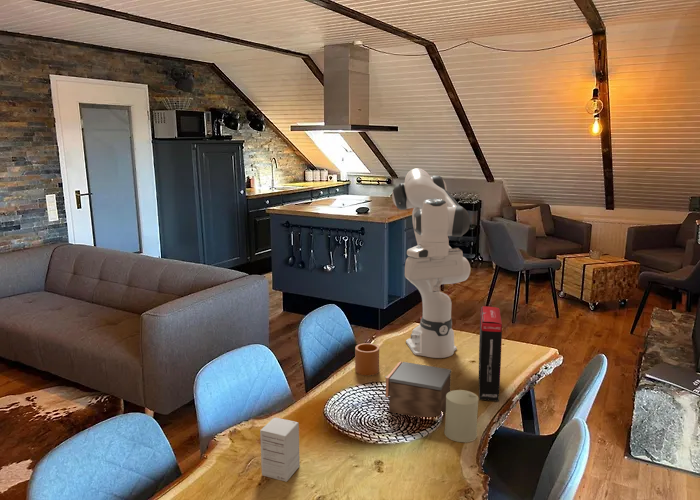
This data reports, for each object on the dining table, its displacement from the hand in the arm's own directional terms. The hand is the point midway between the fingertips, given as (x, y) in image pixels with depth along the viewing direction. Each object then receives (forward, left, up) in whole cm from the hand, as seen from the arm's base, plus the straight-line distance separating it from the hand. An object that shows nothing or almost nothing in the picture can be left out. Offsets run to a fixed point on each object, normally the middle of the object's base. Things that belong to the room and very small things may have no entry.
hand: (434, 291), depth 178 cm
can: (+28, -5, -35) cm, 45 cm away
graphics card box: (+7, +18, -35) cm, 40 cm away
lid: (+9, -10, -30) cm, 32 cm away
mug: (-23, -13, -35) cm, 44 cm away
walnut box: (+10, -9, -35) cm, 37 cm away
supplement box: (+29, -58, -35) cm, 74 cm away
